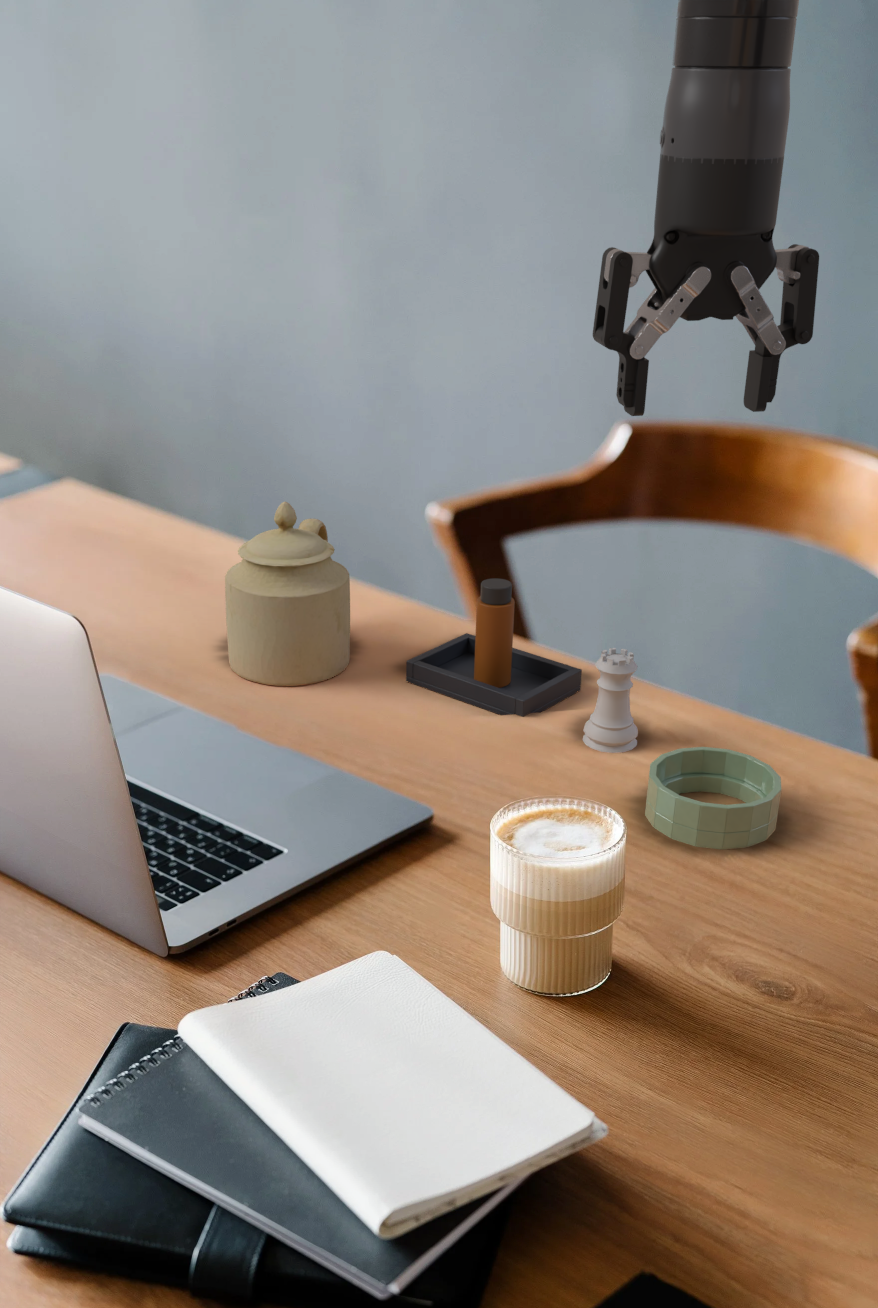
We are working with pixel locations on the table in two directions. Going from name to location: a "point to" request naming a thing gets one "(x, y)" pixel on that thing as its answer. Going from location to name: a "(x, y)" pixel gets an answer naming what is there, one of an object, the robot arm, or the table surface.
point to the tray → (527, 692)
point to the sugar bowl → (288, 606)
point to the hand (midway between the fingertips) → (694, 411)
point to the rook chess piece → (613, 705)
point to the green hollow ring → (713, 775)
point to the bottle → (494, 633)
